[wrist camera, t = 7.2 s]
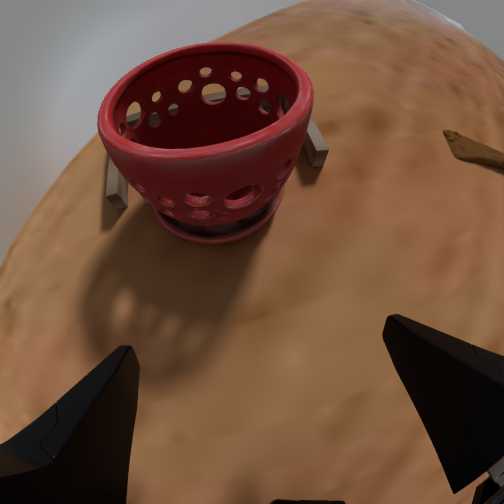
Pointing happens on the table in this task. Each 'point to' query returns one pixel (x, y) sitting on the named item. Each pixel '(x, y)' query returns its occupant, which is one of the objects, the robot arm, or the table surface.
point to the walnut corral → (313, 138)
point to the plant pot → (209, 137)
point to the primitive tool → (473, 150)
